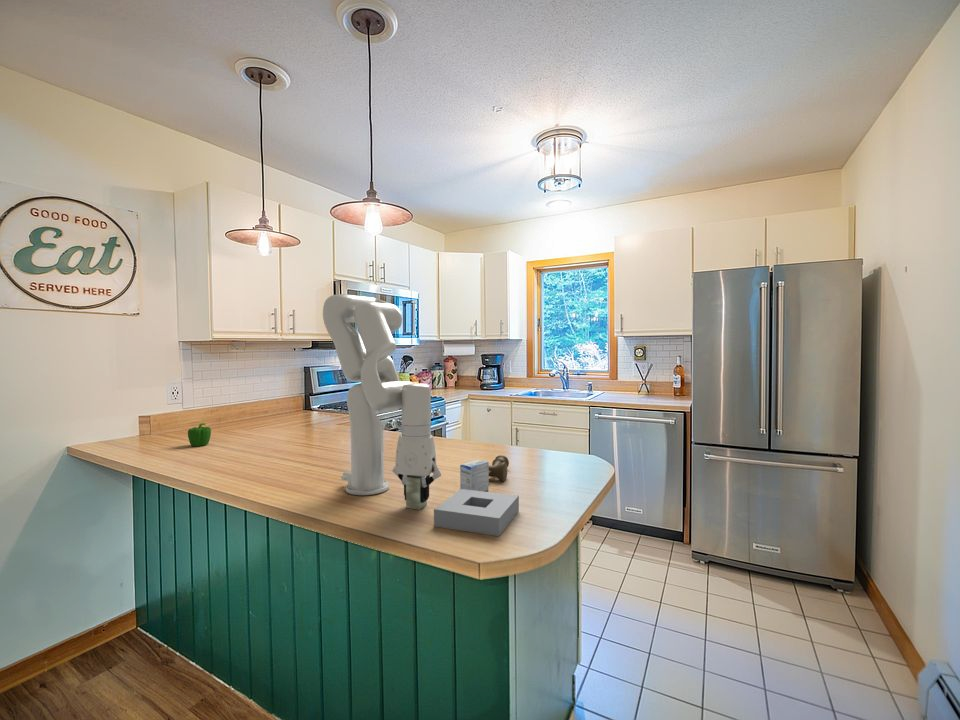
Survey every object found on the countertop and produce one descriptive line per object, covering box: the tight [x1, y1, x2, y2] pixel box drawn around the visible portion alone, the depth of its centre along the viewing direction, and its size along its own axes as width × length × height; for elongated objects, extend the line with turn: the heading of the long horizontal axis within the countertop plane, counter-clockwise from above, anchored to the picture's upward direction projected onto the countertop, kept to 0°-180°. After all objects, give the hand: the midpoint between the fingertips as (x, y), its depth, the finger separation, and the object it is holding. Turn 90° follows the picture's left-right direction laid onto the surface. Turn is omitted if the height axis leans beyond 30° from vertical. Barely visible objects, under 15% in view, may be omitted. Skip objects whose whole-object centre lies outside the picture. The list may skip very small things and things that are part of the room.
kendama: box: [489, 454, 510, 482], centre depth 142 cm, size 6×10×20 cm
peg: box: [405, 475, 428, 510], centre depth 114 cm, size 4×4×8 cm
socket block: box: [433, 488, 520, 537], centre depth 106 cm, size 16×16×4 cm
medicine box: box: [459, 459, 490, 492], centre depth 126 cm, size 8×4×9 cm, turn 141°
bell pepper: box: [187, 422, 212, 447], centre depth 191 cm, size 8×8×10 cm
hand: (416, 499), depth 114 cm, fingers closed on peg, 3 cm apart
